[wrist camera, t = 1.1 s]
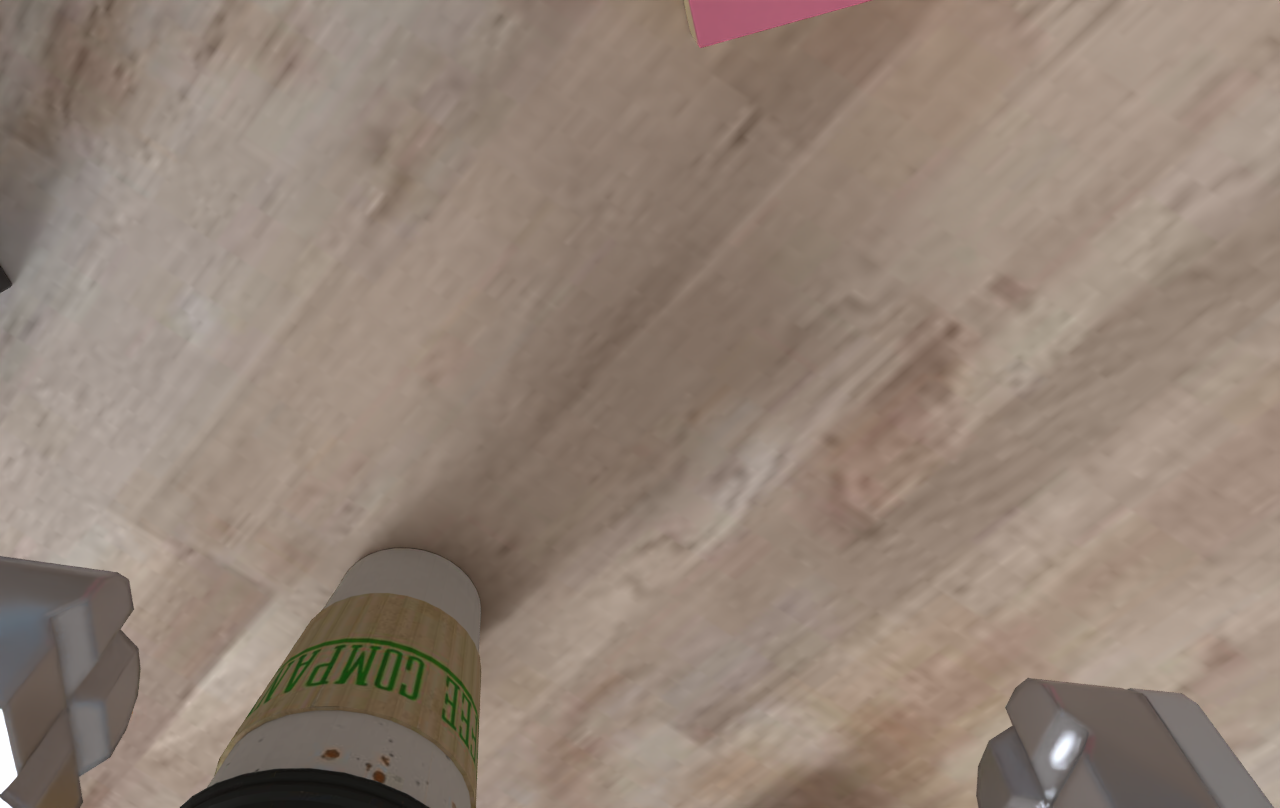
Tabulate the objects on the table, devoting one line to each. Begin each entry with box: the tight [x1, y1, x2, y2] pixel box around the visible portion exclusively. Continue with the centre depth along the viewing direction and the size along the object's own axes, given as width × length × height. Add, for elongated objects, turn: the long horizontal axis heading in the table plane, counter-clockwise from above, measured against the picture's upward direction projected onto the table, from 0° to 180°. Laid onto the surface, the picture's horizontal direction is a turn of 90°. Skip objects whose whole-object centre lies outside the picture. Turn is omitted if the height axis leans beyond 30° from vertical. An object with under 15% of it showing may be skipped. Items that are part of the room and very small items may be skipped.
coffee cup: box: [180, 548, 481, 808], centre depth 33 cm, size 10×10×15 cm
